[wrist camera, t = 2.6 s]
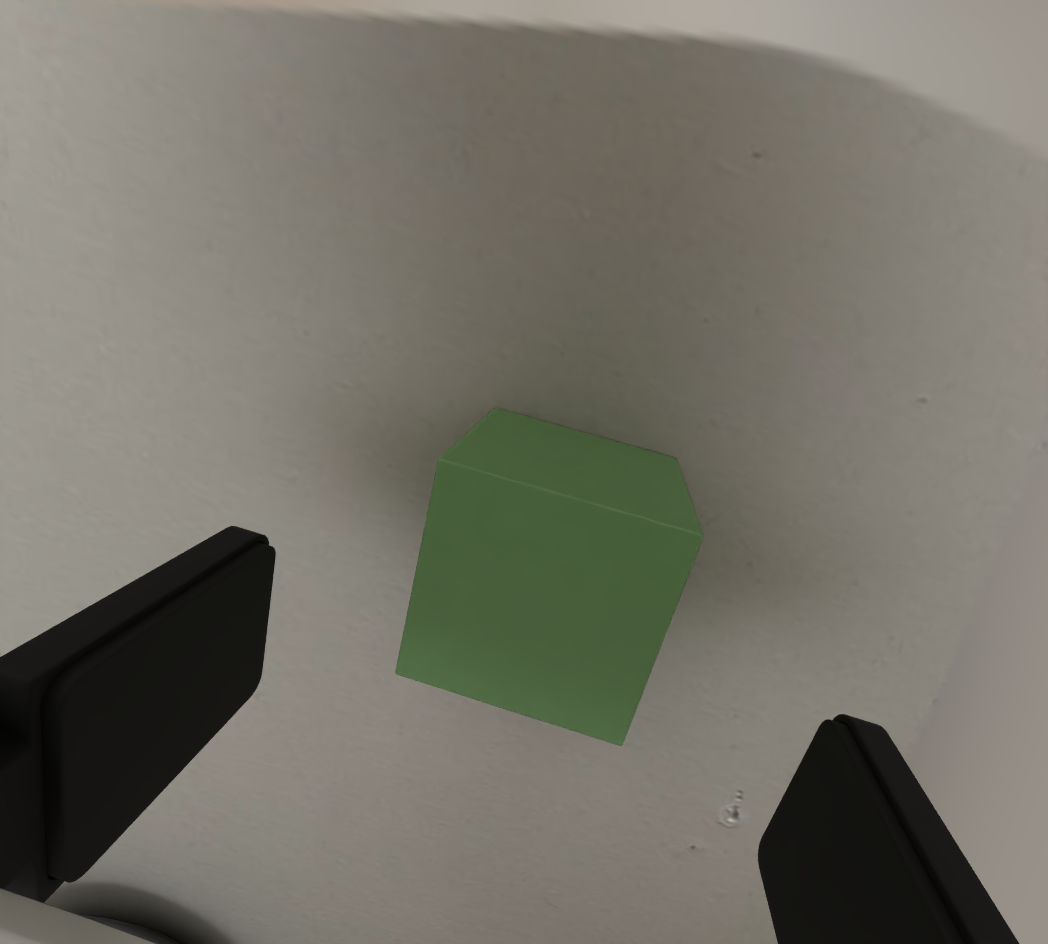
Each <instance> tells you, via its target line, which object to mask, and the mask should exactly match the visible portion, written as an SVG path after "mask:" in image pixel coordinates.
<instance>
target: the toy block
mask: <svg viewBox="0 0 1048 944" xmlns="http://www.w3.org/2000/svg"><path fill="white" fill-rule="evenodd" d="M703 537H704V535H703V532H702V529H701V526H700V523H699V520H698V517H697V515H696V512H695V509H694V506H693V503H692V500H691V497H690V495H689V492H688V489H687V486H686V483H685V480H684V477H683V475H682V472H681V469H680V466H679V463H678V460H677V458H675V457H671V456H667V455H664V454H660V453H657V452H653V451H649V450H646V449H642V448H639V447H635V446H632V445H628V444H624V443H621V442H617V441H614V440H610V439H606V438H603V437H599V436H596V435H592V434H588V433H585V432H581V431H578V430H574V429H571V428H567V427H563V426H560V425H556V424H553V423H549V422H545V421H542V420H538V419H535V418H531V417H527V416H524V415H520V414H517V413H513V412H510V411H506V410H502V409H499V408H494V409H493V410H492V411H490V412H489V413H488V414H487V415H486V416H485V417H484V418H483V419H482V420H481V421H480V422H478V423H477V424H476V425H475V426H474V427H473V428H472V429H471V430H470V431H469V432H468V433H466V434H465V435H464V436H463V437H462V438H461V439H460V440H459V441H458V442H457V443H456V444H454V445H453V446H452V447H451V448H450V449H449V450H448V451H447V452H446V453H445V454H444V455H442V456H441V457H440V458H439V459H438V463H437V468H436V473H435V478H434V483H433V488H432V493H431V498H430V503H429V508H428V513H427V518H426V523H425V528H424V533H423V537H422V542H421V547H420V552H419V557H418V562H417V567H416V572H415V577H414V582H413V587H412V592H411V597H410V602H409V607H408V612H407V617H406V622H405V626H404V631H403V636H402V641H401V646H400V651H399V656H398V661H397V666H396V671H395V673H396V674H397V675H400V676H404V677H407V678H410V679H413V680H416V681H419V682H422V683H425V684H429V685H432V686H435V687H438V688H441V689H444V690H447V691H450V692H454V693H457V694H460V695H463V696H466V697H469V698H472V699H475V700H479V701H482V702H485V703H488V704H491V705H494V706H497V707H500V708H504V709H507V710H510V711H513V712H516V713H519V714H522V715H525V716H529V717H532V718H535V719H538V720H541V721H544V722H547V723H550V724H554V725H557V726H560V727H563V728H566V729H569V730H572V731H575V732H579V733H582V734H585V735H588V736H591V737H594V738H597V739H600V740H604V741H607V742H610V743H613V744H616V745H619V746H622V745H623V742H624V740H625V737H626V735H627V732H628V730H629V727H630V724H631V722H632V719H633V717H634V714H635V712H636V709H637V706H638V704H639V701H640V699H641V696H642V694H643V691H644V688H645V686H646V683H647V681H648V678H649V676H650V673H651V670H652V668H653V665H654V663H655V660H656V658H657V655H658V652H659V650H660V647H661V645H662V642H663V640H664V637H665V634H666V632H667V629H668V627H669V624H670V622H671V619H672V616H673V614H674V611H675V609H676V606H677V603H678V601H679V598H680V596H681V593H682V591H683V588H684V585H685V583H686V580H687V578H688V575H689V573H690V570H691V567H692V565H693V562H694V560H695V557H696V555H697V552H698V549H699V547H700V544H701V542H702V539H703Z"/></svg>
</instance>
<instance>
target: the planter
mask: <svg viewBox="0 0 1048 944" xmlns="http://www.w3.org/2000/svg"><path fill="white" fill-rule="evenodd" d="M76 915H79V916H82V917H84V918H87V919H90V920H93V921H96V922H98V923H101V924H104V925H106V926H109V927H112V928H115V929H117V930H120V931H123V932H125V933H128V934H131V935H134V936H136V937H139V938H142V939H144V940H147V941H150V942H152V943H155V944H180V943H178V942H176V941H175V940H173V939H171V938H169V937H167V936H165V935H163V934H161V933H159V932H157V931H154V930H152V929H149V928H146V927H143V926H140V925H136V924H132V923H127V922H123V921H118V920H113V919H108V918H103V917H97V916H90V915H81V914H76Z"/></svg>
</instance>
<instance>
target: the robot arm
mask: <svg viewBox="0 0 1048 944" xmlns="http://www.w3.org/2000/svg"><path fill="white" fill-rule="evenodd" d="M275 555H276V552H275V549H274V548H273V547H272V546H269V541H268V538H267V537H266V536H265V535H262V534H259V533H256V532H253V531H249V530H246V529H243V528H240V527H236V526H230V527H228V528H226V529H224V530H222V531H220V532H219V533H217V534H215V535H213V536H212V537H210V538H208V539H206V540H205V541H203V542H201V543H199V544H198V545H196V546H194V547H192V548H191V549H189V550H187V551H185V552H184V553H182V554H180V555H178V556H177V557H175V558H173V559H171V560H170V561H168V562H166V563H164V564H163V565H161V566H159V567H157V568H156V569H154V570H152V571H150V572H149V573H147V574H145V575H143V576H142V577H140V578H138V579H136V580H135V581H133V582H131V583H129V584H128V585H126V586H124V587H122V588H121V589H119V590H117V591H115V592H114V593H112V594H110V595H108V596H107V597H105V598H103V599H101V600H100V601H98V602H96V603H94V604H93V605H91V606H89V607H87V608H86V609H84V610H82V611H80V612H79V613H77V614H75V615H73V616H72V617H70V618H68V619H66V620H65V621H63V622H61V623H59V624H58V625H56V626H54V627H52V628H51V629H49V630H47V631H45V632H44V633H42V634H40V635H38V636H37V637H35V638H33V639H31V640H30V641H28V642H26V643H24V644H23V645H21V646H19V647H17V648H16V649H14V650H12V651H10V652H9V653H7V654H5V655H3V656H2V657H0V944H155V943H152V942H150V941H147V940H144V939H142V938H139V937H136V936H134V935H131V934H128V933H125V932H123V931H120V930H117V929H115V928H112V927H109V926H106V925H104V924H101V923H98V922H96V921H93V920H90V919H87V918H84V917H82V916H79V915H76V914H73V913H70V912H67V911H64V910H61V909H58V908H55V907H53V906H50V905H47V904H44V902H45V901H46V900H47V899H48V898H49V897H50V896H51V895H52V894H53V893H54V892H55V891H56V890H57V889H58V888H59V886H60V885H61V884H62V883H63V882H64V881H66V882H69V883H70V882H74V881H76V880H77V879H79V878H80V877H82V876H83V875H84V874H85V873H86V872H87V871H88V870H89V869H90V868H91V867H92V866H93V865H94V864H95V862H96V861H97V860H98V859H99V858H100V857H101V856H102V855H103V854H104V853H105V852H106V851H107V850H108V849H109V848H110V846H111V845H112V844H113V843H114V842H115V841H116V840H117V839H118V838H119V837H120V836H121V835H122V834H123V833H124V831H125V830H126V829H127V828H128V827H129V826H130V825H131V824H132V823H133V822H134V821H135V820H136V819H137V818H138V817H139V815H140V814H141V813H142V812H143V811H144V810H145V809H146V808H147V807H148V806H149V805H150V804H151V803H152V802H153V801H154V799H155V798H156V797H157V796H158V795H159V794H160V793H161V792H162V791H163V790H164V789H165V788H166V787H167V786H168V785H169V783H170V782H171V781H172V780H173V779H174V778H175V777H176V776H177V775H178V774H179V773H180V772H181V771H182V770H183V769H184V767H185V766H186V765H187V764H188V763H189V762H190V761H191V760H192V759H193V758H194V757H195V756H196V755H197V754H198V753H199V751H200V750H201V749H202V748H203V747H204V746H205V745H206V744H207V743H208V742H209V741H210V740H211V739H212V738H213V737H214V735H215V734H216V733H217V732H218V731H219V730H220V729H221V728H222V727H223V726H224V725H225V724H226V723H227V722H228V721H229V719H230V718H231V717H232V716H233V715H234V714H235V713H236V712H237V711H238V710H239V709H240V708H241V707H242V706H243V705H244V703H245V702H246V701H247V700H248V699H249V698H250V697H251V696H252V695H253V693H254V692H255V690H256V688H257V686H258V684H259V682H260V679H261V676H262V669H263V660H264V652H265V643H266V634H267V626H268V617H269V608H270V600H271V591H272V582H273V574H274V565H275ZM758 863H759V869H760V873H761V877H762V881H763V885H764V889H765V893H766V897H767V901H768V905H769V909H770V913H771V917H772V921H773V925H774V929H775V933H776V937H777V941H778V944H1019V943H1018V941H1017V939H1016V938H1015V936H1014V935H1013V933H1012V931H1011V930H1010V928H1009V927H1008V925H1007V923H1006V922H1005V920H1004V919H1003V917H1002V915H1001V914H1000V912H999V911H998V909H997V907H996V906H995V904H994V903H993V901H992V899H991V898H990V896H989V895H988V893H987V891H986V890H985V888H984V887H983V885H982V884H981V882H980V880H979V879H978V877H977V875H976V874H975V872H974V871H973V869H972V867H971V866H970V864H969V863H968V861H967V859H966V858H965V856H964V855H963V853H962V852H961V850H960V849H959V847H958V845H957V843H956V842H955V840H954V839H953V837H952V835H951V834H950V832H949V831H948V829H947V827H946V826H945V824H944V823H943V821H942V819H941V818H940V816H939V815H938V813H937V811H936V810H935V809H934V807H933V805H932V803H931V802H930V800H929V799H928V797H927V795H926V794H925V792H924V791H923V789H922V788H921V786H920V784H919V783H918V781H917V779H916V778H915V776H914V775H913V773H912V771H911V770H910V768H909V767H908V765H907V763H906V762H905V760H904V759H903V757H902V755H901V754H900V752H899V751H898V749H897V747H896V746H895V744H894V743H893V741H892V739H891V738H890V736H889V735H888V733H887V732H886V730H885V729H884V728H883V727H881V726H879V725H877V724H874V723H871V722H867V721H864V720H861V719H858V718H854V717H851V716H848V715H845V714H840V715H838V716H836V717H835V718H834V719H833V720H825V721H823V722H822V723H821V725H820V726H819V728H818V730H817V732H816V734H815V736H814V738H813V740H812V742H811V744H810V746H809V748H808V749H807V751H806V753H805V755H804V757H803V759H802V761H801V763H800V765H799V767H798V769H797V771H796V773H795V775H794V776H793V778H792V780H791V782H790V784H789V786H788V788H787V790H786V792H785V794H784V796H783V798H782V800H781V802H780V803H779V805H778V807H777V809H776V811H775V813H774V815H773V817H772V819H771V821H770V823H769V825H768V827H767V829H766V830H765V832H764V834H763V836H762V838H761V841H760V844H759V849H758Z"/></svg>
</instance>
